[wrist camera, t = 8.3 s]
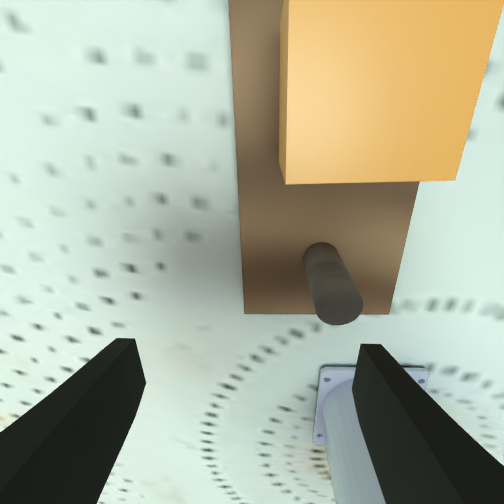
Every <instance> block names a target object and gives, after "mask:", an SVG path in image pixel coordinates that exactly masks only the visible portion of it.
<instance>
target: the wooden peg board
mask: <svg viewBox="0 0 504 504" xmlns="http://www.w3.org/2000/svg"><path fill="white" fill-rule="evenodd" d="M283 2H284V0H229V17H230V37H231V57H232V76H233V96H234V116H235V136H236V156H237V175H238V195H239V215H240V235H241V254H242V274H243V294H244V314H317V316H318V317H319V318H320V319H321V320H322V321H323V322H325V323H327V324H330V325H344V324H347V323H350V322H352V321H353V320H355V319H356V318H357V317H358V316H359V315H360V314H383V315H389V311H390V307H391V302H392V298H393V294H394V290H395V285H396V281H397V277H398V272H399V268H400V264H401V259H402V255H403V251H404V246H405V242H406V238H407V233H408V229H409V225H410V220H411V216H412V212H413V207H414V203H415V199H416V194H417V190H418V186H419V181H405V182H363V183H321V184H285V181H284V177H283V174H282V171H281V167H280V164H279V93H280V20H281V14H282V8H283Z"/></svg>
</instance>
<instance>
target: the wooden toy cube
mask: <svg viewBox="0 0 504 504" xmlns="http://www.w3.org/2000/svg"><path fill="white" fill-rule="evenodd" d="M503 4H504V0H284V2H283V8H282V14H281V20H280V93H279V164H280V167H281V171H282V174H283V177H284V181H285V184H321V183H363V182H405V181H448V180H455V179H456V175H457V171H458V168H459V164H460V161H461V157H462V153H463V150H464V146H465V142H466V139H467V135H468V131H469V128H470V124H471V121H472V117H473V113H474V110H475V106H476V102H477V99H478V95H479V92H480V88H481V84H482V81H483V77H484V73H485V70H486V66H487V62H488V59H489V55H490V52H491V48H492V44H493V41H494V37H495V33H496V30H497V26H498V22H499V19H500V15H501V12H502V8H503Z"/></svg>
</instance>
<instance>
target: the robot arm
mask: <svg viewBox="0 0 504 504" xmlns="http://www.w3.org/2000/svg"><path fill="white" fill-rule="evenodd" d="M327 377H328V378H327ZM428 379H429V373H428V371H427V369H425V368H403V367H402V366H401V365H400V364H399V363H398V362H397V361H396V360H395V359H394V358H393V357H392V356H391V355H390V353H389V352H388V351H387V350H386V349H385V348H384V347H383V346H382V345H381V344H361V345H360V350H359V355H358V360H357V365H356V367H324V368H322V369H321V371H320V379H319V388H318V397H317V406H316V415H315V424H314V433H313V442H314V444H315V445H320V446H325V447H326V452H327V458H328V464H329V469H330V475H331V480H332V486H333V491H334V497H335V503H336V504H504V466H503V465H502V464H501V463H500V462H498V461H497V460H496V459H495V458H494V457H493V456H492V455H491V454H489V453H488V452H487V451H486V450H485V449H484V448H483V447H482V446H481V445H480V444H479V443H478V442H476V441H475V440H474V439H473V438H472V437H471V436H470V435H469V434H468V433H467V432H466V431H465V430H464V429H463V428H461V427H460V426H459V425H458V424H457V423H456V422H455V421H454V420H453V419H452V418H451V417H450V416H449V415H448V414H447V413H446V412H445V411H444V410H443V409H442V408H441V407H440V406H439V405H438V404H437V403H436V402H435V401H434V400H433V399H432V398H431V397H430V396H429V395H428V394H427V393H426V392H425V391H424V390H425V387H426V384H427V381H428ZM145 385H146V381H145V377H144V373H143V369H142V365H141V361H140V357H139V353H138V349H137V345H136V341H135V339H130V338H116V339H115V340H114V341H113V342H111V343H110V344H109V345H108V346H106V347H105V348H104V349H103V350H102V351H100V352H99V353H98V354H97V355H96V356H95V357H93V358H92V359H91V360H90V361H89V362H88V363H86V364H85V365H84V366H83V367H82V368H81V369H79V370H78V371H77V372H76V373H75V374H73V375H72V376H71V377H70V378H69V379H67V380H66V381H65V382H64V383H63V384H61V385H60V386H59V387H58V388H57V389H55V390H54V391H53V392H52V393H51V394H49V395H48V396H47V397H45V398H44V399H43V400H42V401H40V402H39V403H38V404H36V405H35V406H34V407H33V408H31V409H30V410H29V411H28V412H26V413H25V414H24V415H22V416H21V417H20V418H19V419H17V420H16V421H15V422H13V423H12V424H11V425H10V426H8V427H7V428H6V429H4V430H3V431H2V432H0V504H97V501H98V499H99V497H100V494H101V492H102V490H103V488H104V486H105V483H106V481H107V479H108V477H109V474H110V472H111V470H112V468H113V466H114V463H115V461H116V459H117V457H118V454H119V452H120V450H121V448H122V446H123V443H124V441H125V439H126V437H127V434H128V432H129V430H130V428H131V425H132V423H133V421H134V418H135V416H136V413H137V410H138V407H139V404H140V401H141V398H142V395H143V391H144V388H145Z"/></svg>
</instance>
